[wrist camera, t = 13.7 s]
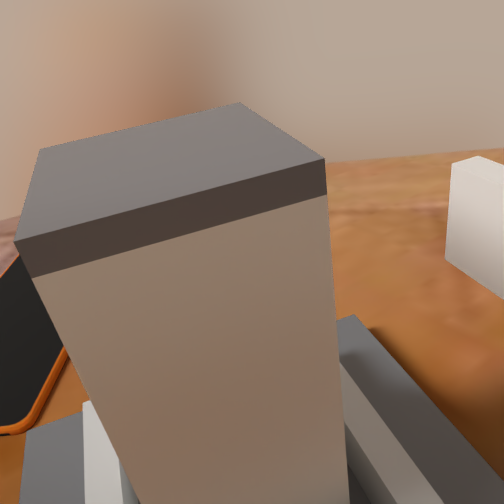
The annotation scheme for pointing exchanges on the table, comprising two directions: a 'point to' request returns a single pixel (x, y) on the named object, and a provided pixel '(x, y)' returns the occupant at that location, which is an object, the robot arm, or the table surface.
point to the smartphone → (25, 351)
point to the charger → (197, 304)
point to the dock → (356, 440)
